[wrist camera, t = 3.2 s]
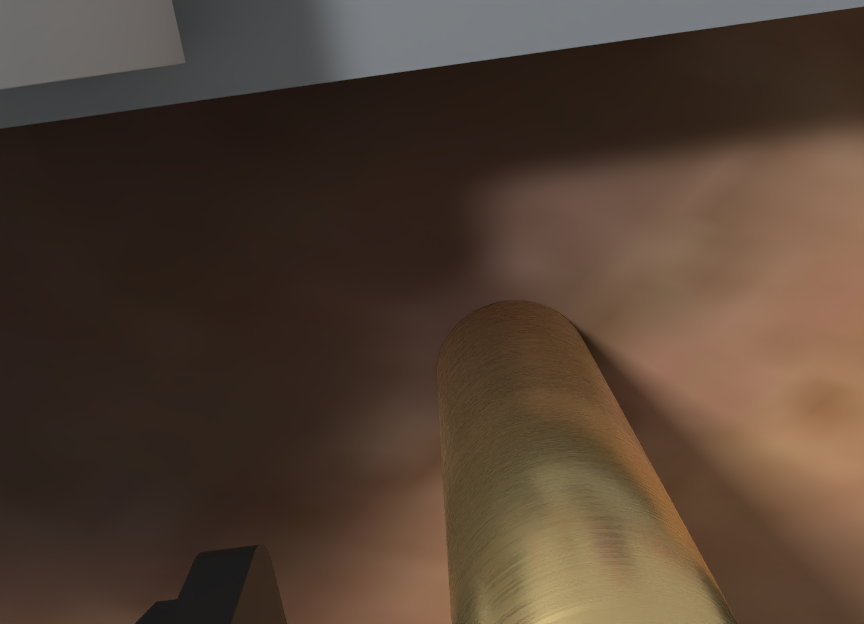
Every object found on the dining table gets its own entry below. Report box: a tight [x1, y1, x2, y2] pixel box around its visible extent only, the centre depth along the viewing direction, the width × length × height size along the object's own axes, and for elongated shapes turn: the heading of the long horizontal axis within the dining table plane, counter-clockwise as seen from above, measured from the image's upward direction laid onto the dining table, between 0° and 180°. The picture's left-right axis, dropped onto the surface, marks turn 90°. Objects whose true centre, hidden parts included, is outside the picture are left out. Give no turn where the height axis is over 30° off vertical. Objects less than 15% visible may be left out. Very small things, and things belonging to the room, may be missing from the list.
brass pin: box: [436, 300, 739, 624], centre depth 11 cm, size 3×3×10 cm
